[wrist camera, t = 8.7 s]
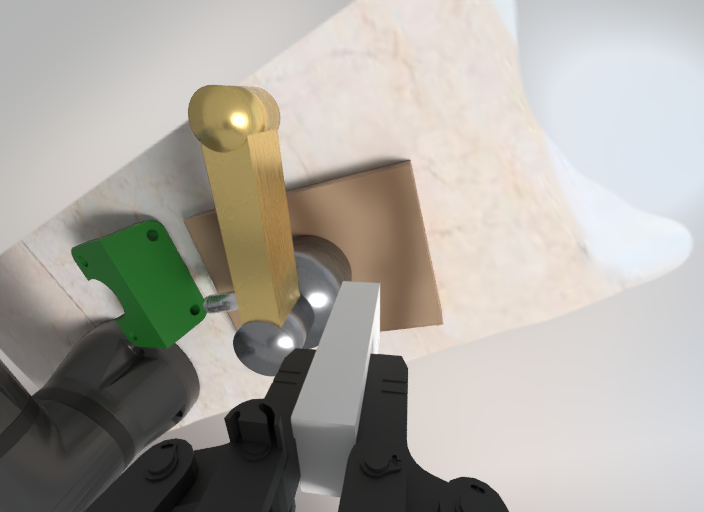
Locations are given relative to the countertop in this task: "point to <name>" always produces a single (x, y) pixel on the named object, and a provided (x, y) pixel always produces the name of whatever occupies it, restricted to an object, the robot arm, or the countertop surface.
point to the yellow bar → (253, 220)
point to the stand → (354, 240)
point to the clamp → (144, 283)
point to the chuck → (306, 282)
